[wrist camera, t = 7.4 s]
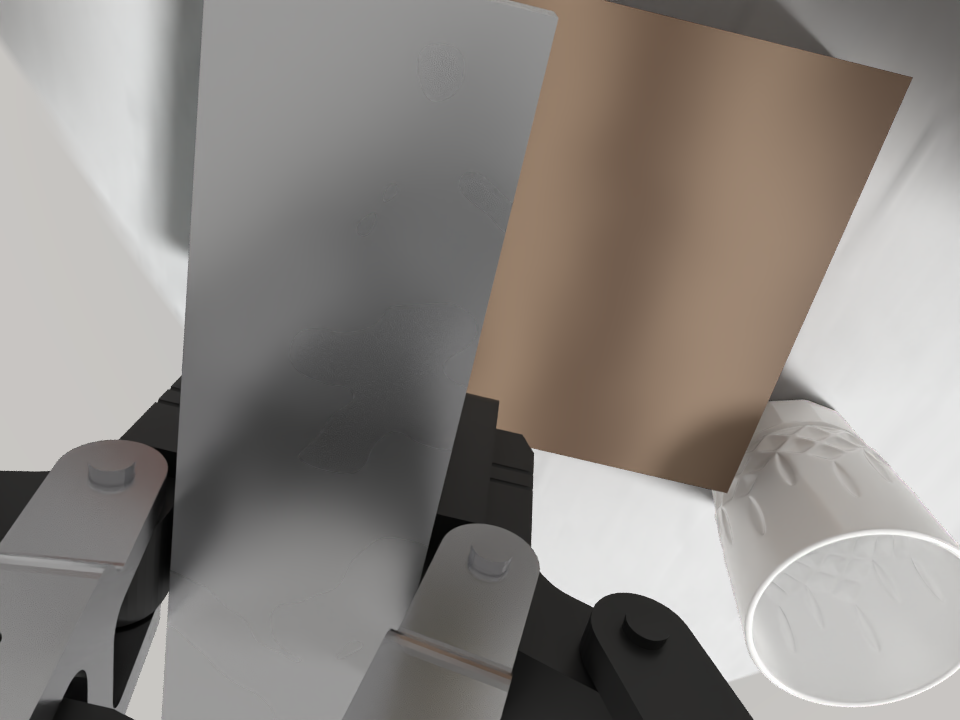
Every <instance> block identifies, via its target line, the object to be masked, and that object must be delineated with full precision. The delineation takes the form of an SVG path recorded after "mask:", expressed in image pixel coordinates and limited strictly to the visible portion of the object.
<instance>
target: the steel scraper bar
mask: <svg viewBox="0 0 960 720" xmlns="http://www.w3.org/2000/svg"><path fill="white" fill-rule="evenodd" d="M557 22H558V17H557V15H556V14H555V12H554V11H550V10H546V9H542V8H538V7H534V6H530V5H526V4H522V3H518V2H514V1H510V0H204V5H203V22H202V39H201V56H200V73H199V90H198V107H197V124H196V141H195V158H194V175H193V193H192V210H191V227H190V244H189V261H188V278H187V295H186V312H185V329H184V346H183V364H182V380H181V397H180V414H179V431H178V448H177V465H176V482H175V499H174V516H173V533H172V550H171V567H170V584H169V602H168V620H167V636H166V653H165V670H164V688H163V705H162V720H342V718H343V716H344V714H345V712H346V710H347V708H348V706H349V705H350V703H351V701H352V699H353V697H354V695H355V693H356V691H357V689H358V687H359V685H360V683H361V681H362V679H363V677H364V675H365V673H366V671H367V669H368V667H369V665H370V663H371V662H372V660H373V658H374V656H375V654H376V652H377V650H378V648H379V646H380V644H381V642H382V640H383V638H384V637H385V635H386V633H387V632H388V631H389V630H390V629H395V630H398V628H399V626H400V624H401V622H402V620H403V618H404V616H405V614H406V612H407V610H408V608H409V606H410V604H411V602H412V600H413V598H414V596H415V594H416V592H417V590H418V586H419V582H420V578H421V574H422V570H423V566H424V562H425V558H426V554H427V550H428V545H429V541H430V537H431V533H432V529H433V525H434V521H435V517H436V513H437V509H438V505H439V501H440V497H441V493H442V489H443V485H444V481H445V476H446V472H447V468H448V464H449V460H450V456H451V452H452V448H453V444H454V440H455V436H456V432H457V428H458V424H459V420H460V416H461V412H462V408H463V403H464V399H465V395H466V391H467V387H468V383H469V379H470V375H471V371H472V367H473V363H474V359H475V355H476V351H477V347H478V343H479V339H480V335H481V330H482V326H483V322H484V318H485V314H486V310H487V306H488V302H489V298H490V294H491V290H492V286H493V282H494V278H495V274H496V270H497V266H498V262H499V257H500V253H501V249H502V245H503V241H504V237H505V233H506V229H507V225H508V221H509V217H510V213H511V209H512V205H513V201H514V197H515V193H516V188H517V184H518V180H519V176H520V172H521V168H522V164H523V160H524V156H525V152H526V148H527V144H528V140H529V136H530V132H531V128H532V124H533V120H534V115H535V111H536V107H537V103H538V99H539V95H540V91H541V87H542V83H543V79H544V75H545V71H546V67H547V63H548V59H549V55H550V51H551V47H552V42H553V38H554V34H555V30H556V26H557Z"/></svg>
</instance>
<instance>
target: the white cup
mask: <svg viewBox="0 0 960 720" xmlns="http://www.w3.org/2000/svg"><path fill="white" fill-rule="evenodd" d="M711 491H712V495H713V499H714V505H715V520H716V524H717V528H718V533H719V539H720V543H721V546H722V549H723V555H724V561H725V565H726V568H727V572H728V575H729V579H730V583H731V586H732V590H733V594H734V598H735V602H736V606H737V610H738V614H739V618H740V622H741V626H742V630H743V634H744V638H745V641H746V645H747V649H748V651H749V654H750V656H751V658H752V660H753V662H754V663H755V665H756V666H757V668H758V669H759V670H760V672H761V673H762V674H763V675H764V676H765V677H766V678H767V679H768V680H769V681H771V682H772V683H773V684H775V685H776V686H777V687H779V688H780V689H782V690H784V691H785V692H787V693H789V694H792V695H794V696H796V697H798V698H801V699H804V700H807V701H810V702H814V703H818V704H823V705H829V706H837V707H867V706H875V705H881V704H887V703H891V702H895V701H899V700H903V699H906V698H909V697H912V696H914V695H917V694H919V693H921V692H924V691H926V690H928V689H930V688H932V687H934V686H935V685H937V684H939V683H941V682H942V681H944V680H945V679H947V678H948V677H950V676H951V675H952V674H954V673H955V672H956V671H957V670H958V669H960V545H959V544H958V543H957V542H956V540H955V539H954V538H953V537H952V536H951V535H950V533H949V532H948V531H947V530H946V529H945V528H944V527H943V526H942V525H941V523H940V522H939V521H938V520H937V519H936V518H935V517H934V515H933V514H932V513H931V512H930V511H929V509H928V508H927V507H926V506H925V505H924V503H923V502H922V501H921V500H920V499H919V497H918V496H917V495H916V494H915V492H914V491H913V490H912V489H911V488H910V487H909V486H908V485H907V484H906V483H905V482H904V481H903V480H902V479H901V478H900V477H899V475H898V474H897V473H896V472H895V470H894V469H893V468H892V467H891V466H890V465H889V464H888V463H887V462H886V461H885V460H884V459H883V458H882V457H881V456H880V454H879V453H878V452H877V451H876V450H875V449H873V448H871V447H870V446H868V445H867V444H866V443H865V442H864V441H863V440H862V439H861V438H860V437H859V435H858V434H857V433H856V432H855V431H854V430H853V429H852V427H851V426H850V425H849V424H848V423H847V422H846V420H845V419H844V418H843V417H842V416H841V415H840V414H839V413H838V412H837V411H835V410H832V409H830V408H827V407H824V406H822V405H819V404H816V403H814V402H811V401H809V400H784V401H769V402H768V403H767V405H766V407H765V410H764V412H763V414H762V416H761V419H760V421H759V423H758V425H757V428H756V430H755V432H754V434H753V437H752V439H751V441H750V443H749V446H748V448H747V450H746V452H745V455H744V457H743V459H742V461H741V464H740V466H739V468H738V470H737V472H736V475H735V477H734V479H733V481H732V484H731V486H730V488H729V490H728V493H724V492H719V491H715V490H711Z"/></svg>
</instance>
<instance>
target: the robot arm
mask: <svg viewBox="0 0 960 720" xmlns="http://www.w3.org/2000/svg"><path fill="white" fill-rule="evenodd" d="M181 380H182V376H181V377H180V378H179V379H178V380H177V381H176V382H175V383H174V384H173V385H172V386H171V389H170V390H167V391H166V392H165V393H164V394H163V395H162V396H161V397H160V398H159V400H158V403H156V402H155V403H154V404H153V405H152V406H151V408H149V409H148V410H147V412H145V413H144V415H143V416H142V417H141V418H140V419H139V420H138V421H137V422H136V423H135V424H134V425H133V426H132V427H131V428H130V429H129V430H128V431H127V432H126V433H125V434H124V435H123V436H122V437H121V438H120V439H119V440H104V441H97V442H92V443H88V444H85V445H81V446H79V447H77V448H74V449H72V450H71V451H69V452H67V453H66V454H65V455H63V456H62V457H61V458H60V459H59V460H58V461H57V463H56V464H55V465H54V467H53V468H52V470H51V471H41V472H29V471H0V720H134V719H132V718H130V717H128V716H126V715H125V713H126V710H127V707H128V704H129V702H130V699H131V697H132V694H133V691H134V689H135V686H136V683H137V680H138V678H139V675H140V672H141V669H142V667H143V664H144V662H145V659H146V656H147V654H148V651H149V648H150V645H151V643H152V640H153V637H154V635H155V632H156V629H157V626H158V624H159V620H160V608H161V603H162V601H163V600H164V598H165V596H166V595H167V593H168V592H169V584H170V567H171V550H172V533H173V516H174V499H175V482H176V465H177V448H178V431H179V414H180V397H181ZM498 410H499V400H495V399H491V398H487V397H483V396H478V395H474V394H470V393H466V395H465V399H464V403H463V408H462V412H461V416H460V420H459V424H458V428H457V432H456V436H455V440H454V444H453V448H452V452H451V456H450V460H449V464H448V468H447V472H446V476H445V481H444V485H443V489H442V493H441V497H440V501H439V505H438V509H437V513H436V517H435V521H434V525H433V529H432V533H431V537H430V541H429V545H428V550H427V554H426V558H425V562H424V566H423V570H422V574H421V578H420V582H419V586H418V590H417V592H416V594H415V596H414V598H413V600H412V602H411V604H410V606H409V608H408V610H407V612H406V614H405V616H404V618H403V620H402V622H401V624H400V626H399V628H398V630H395V629H390V630H389V631H388V632H387V633H386V635H385V637H384V638H383V640H382V642H381V644H380V646H379V648H378V650H377V652H376V654H375V656H374V658H373V660H372V662H371V663H370V665H369V667H368V669H367V671H366V673H365V675H364V677H363V679H362V681H361V683H360V685H359V687H358V689H357V691H356V693H355V695H354V697H353V699H352V701H351V703H350V705H349V706H348V708H347V710H346V712H345V714H344V716H343V718H342V720H753V718H752V717H751V715H750V714H749V713H748V711H747V710H746V709H745V707H744V705H743V704H742V703H741V701H740V700H739V698H738V697H737V696H736V694H735V693H734V691H733V690H732V688H731V687H730V686H729V684H728V683H727V681H726V680H725V679H724V677H723V676H722V674H721V673H720V672H719V670H718V669H717V667H716V666H715V664H714V663H713V662H712V660H711V659H710V657H709V656H708V655H707V653H706V652H705V650H704V649H703V647H702V646H701V645H700V643H699V642H698V640H697V639H696V638H695V636H694V635H693V633H692V632H691V630H690V629H689V628H688V626H687V625H686V624H685V623H684V621H683V620H682V619H681V618H680V617H679V616H678V615H677V614H675V613H674V612H673V611H671V610H670V609H669V608H667V607H666V606H664V605H663V604H661V603H659V602H657V601H655V600H653V599H650V598H648V597H645V596H642V595H638V594H632V593H615V594H610V595H608V596H605V597H603V598H602V599H600V600H599V601H598V602H597V603H596V604H595V606H594V608H593V607H591V606H589V605H587V604H585V603H583V602H581V601H579V600H577V599H575V598H573V597H571V596H569V595H567V594H565V593H564V592H562V591H561V590H559V589H558V588H556V587H555V586H554V585H552V584H551V583H550V582H549V581H548V580H547V579H546V578H545V577H544V576H543V575H542V574H541V572H540V566H539V561H538V558H537V556H536V554H535V552H534V550H533V549H532V548H531V531H532V499H533V491H532V489H533V468H534V453H533V451H532V449H531V448H530V446H529V444H528V443H527V441H526V439H525V438H524V436H523V435H522V434H518V433H514V432H509V431H505V430H501V429H497V428H496V426H497V418H498Z"/></svg>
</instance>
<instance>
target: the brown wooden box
mask: <svg viewBox="0 0 960 720" xmlns="http://www.w3.org/2000/svg"><path fill="white" fill-rule="evenodd" d="M510 1H514V2H518V3H522V4H526V5H530V6H534V7H538V8H542V9H546V10H550V11H554V12H555V14H556V15H557V17H558V22H557V26H556V30H555V34H554V38H553V42H552V47H551V51H550V55H549V59H548V63H547V67H546V71H545V75H544V79H543V83H542V87H541V91H540V95H539V99H538V103H537V107H536V111H535V115H534V120H533V124H532V128H531V132H530V136H529V140H528V144H527V148H526V152H525V156H524V160H523V164H522V168H521V172H520V176H519V180H518V184H517V188H516V193H515V197H514V201H513V205H512V209H511V213H510V217H509V221H508V225H507V229H506V233H505V237H504V241H503V245H502V249H501V253H500V257H499V262H498V266H497V270H496V274H495V278H494V282H493V286H492V290H491V294H490V298H489V302H488V306H487V310H486V314H485V318H484V322H483V326H482V330H481V335H480V339H479V343H478V347H477V351H476V355H475V359H474V363H473V367H472V371H471V375H470V379H469V383H468V387H467V391H466V393H470V394H474V395H478V396H483V397H487V398H491V399H495V400H499V410H498V418H497V426H496V428H497V429H501V430H505V431H509V432H514V433H518V434H522V435H523V436H524V438H525V439H526V441H527V443H528V444H529V446H530V448H534V449H538V450H543V451H547V452H551V453H556V454H560V455H564V456H568V457H573V458H577V459H581V460H586V461H590V462H594V463H599V464H603V465H607V466H612V467H616V468H620V469H624V470H629V471H633V472H637V473H642V474H646V475H650V476H655V477H659V478H663V479H668V480H672V481H676V482H680V483H685V484H689V485H693V486H698V487H702V488H706V489H711V490H715V491H719V492H724V493H728V490H729V488H730V486H731V484H732V481H733V479H734V477H735V475H736V472H737V470H738V468H739V466H740V464H741V461H742V459H743V457H744V455H745V452H746V450H747V448H748V446H749V443H750V441H751V439H752V437H753V434H754V432H755V430H756V428H757V425H758V423H759V421H760V419H761V416H762V414H763V412H764V410H765V407H766V405H767V403H768V401H769V398H770V396H771V394H772V392H773V390H774V387H775V385H776V383H777V381H778V378H779V376H780V374H781V372H782V369H783V367H784V365H785V363H786V360H787V358H788V356H789V354H790V351H791V349H792V347H793V345H794V342H795V340H796V338H797V336H798V333H799V331H800V329H801V327H802V325H803V322H804V320H805V318H806V316H807V313H808V311H809V309H810V307H811V304H812V302H813V300H814V298H815V295H816V293H817V291H818V289H819V286H820V284H821V282H822V280H823V277H824V275H825V273H826V271H827V268H828V266H829V264H830V262H831V259H832V257H833V255H834V253H835V251H836V248H837V246H838V244H839V242H840V239H841V237H842V235H843V233H844V230H845V228H846V226H847V224H848V221H849V219H850V217H851V215H852V212H853V210H854V208H855V206H856V203H857V201H858V199H859V197H860V194H861V192H862V190H863V188H864V186H865V183H866V181H867V179H868V177H869V174H870V172H871V170H872V168H873V165H874V163H875V161H876V159H877V156H878V154H879V152H880V150H881V147H882V145H883V143H884V141H885V138H886V136H887V134H888V132H889V129H890V127H891V125H892V123H893V120H894V118H895V116H896V114H897V112H898V109H899V107H900V105H901V103H902V100H903V98H904V96H905V94H906V91H907V89H908V87H909V85H910V82H911V80H912V78H913V77H909V76H905V75H901V74H897V73H893V72H889V71H885V70H881V69H877V68H873V67H869V66H865V65H861V64H857V63H853V62H849V61H845V60H841V59H837V58H833V57H829V56H825V55H821V54H817V53H813V52H809V51H805V50H801V49H797V48H793V47H789V46H785V45H781V44H777V43H773V42H769V41H765V40H761V39H757V38H753V37H749V36H745V35H741V34H737V33H733V32H729V31H725V30H721V29H717V28H713V27H709V26H705V25H701V24H697V23H693V22H689V21H685V20H681V19H677V18H673V17H669V16H665V15H661V14H657V13H653V12H649V11H645V10H641V9H637V8H633V7H629V6H625V5H621V4H617V3H613V2H609V1H605V0H510Z"/></svg>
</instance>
